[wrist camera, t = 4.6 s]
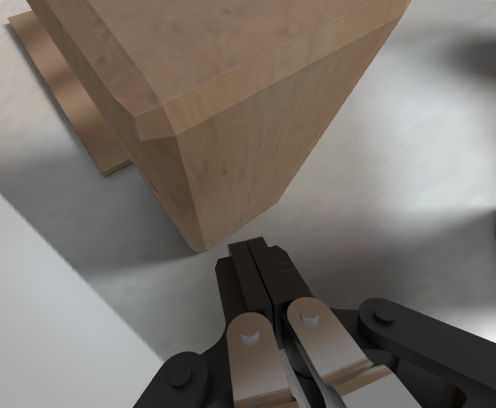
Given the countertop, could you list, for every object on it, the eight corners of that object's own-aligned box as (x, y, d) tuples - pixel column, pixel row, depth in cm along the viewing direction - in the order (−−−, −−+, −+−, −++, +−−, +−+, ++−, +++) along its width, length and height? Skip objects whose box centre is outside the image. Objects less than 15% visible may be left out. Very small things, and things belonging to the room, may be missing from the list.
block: (197, 259, 23) (118, 129, 5) (141, 174, 25) (-81, -161, 7) (282, 200, 26) (449, -33, 7) (225, 127, 28) (241, -205, 9)
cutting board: (241, 106, 29) (241, 101, 28) (104, 176, 25) (100, 173, 24) (143, -17, 34) (141, -24, 33) (12, 25, 29) (7, 18, 28)
